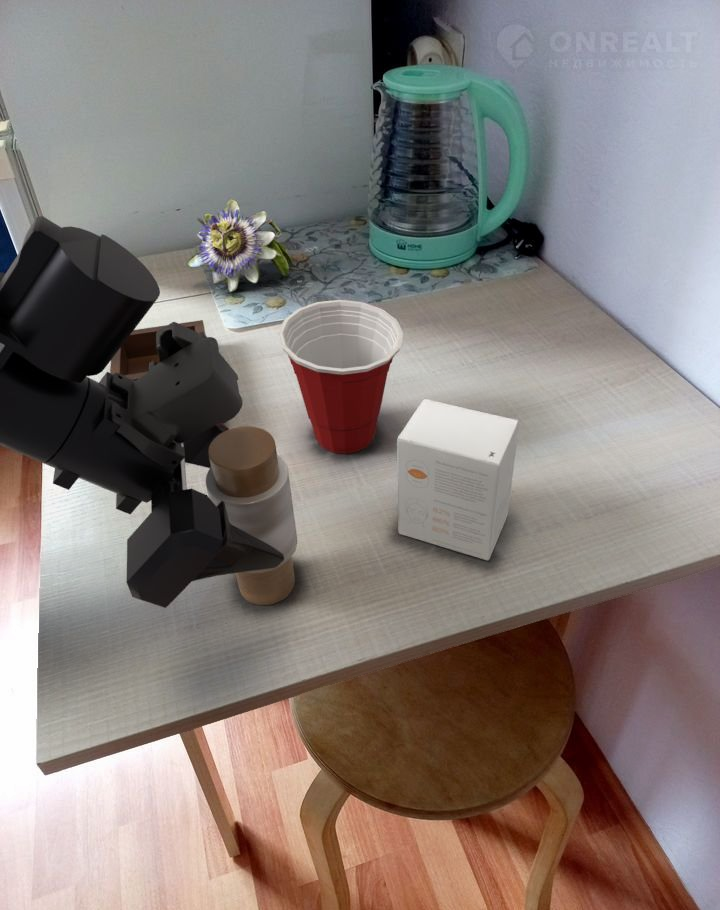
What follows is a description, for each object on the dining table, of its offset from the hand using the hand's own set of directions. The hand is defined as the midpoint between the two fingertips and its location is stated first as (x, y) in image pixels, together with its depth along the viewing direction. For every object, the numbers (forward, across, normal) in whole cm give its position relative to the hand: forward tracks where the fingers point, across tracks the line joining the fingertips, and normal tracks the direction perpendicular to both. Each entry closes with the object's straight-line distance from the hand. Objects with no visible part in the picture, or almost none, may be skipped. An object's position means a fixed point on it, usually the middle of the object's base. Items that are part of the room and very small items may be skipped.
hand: (270, 513), depth 51 cm
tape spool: (+4, 0, +6) cm, 8 cm away
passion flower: (+7, +53, +3) cm, 54 cm away
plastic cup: (+12, +16, -1) cm, 20 cm away
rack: (-1, +27, +11) cm, 29 cm away
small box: (+16, +2, -5) cm, 17 cm away
